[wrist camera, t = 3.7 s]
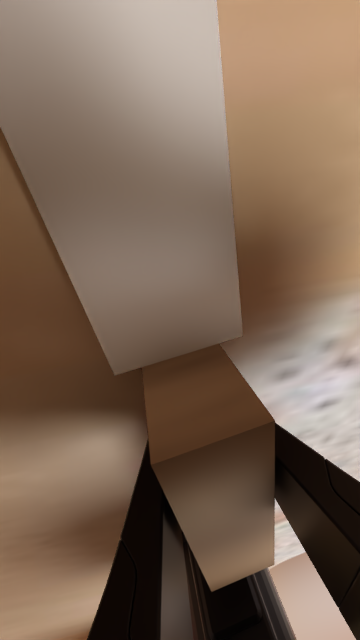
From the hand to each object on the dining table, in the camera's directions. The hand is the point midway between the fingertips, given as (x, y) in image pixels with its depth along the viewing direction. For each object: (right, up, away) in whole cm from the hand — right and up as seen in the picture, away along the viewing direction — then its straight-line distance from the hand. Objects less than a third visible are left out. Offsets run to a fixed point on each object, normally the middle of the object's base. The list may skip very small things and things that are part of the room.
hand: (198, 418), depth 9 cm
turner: (-1, +3, 0) cm, 3 cm away
